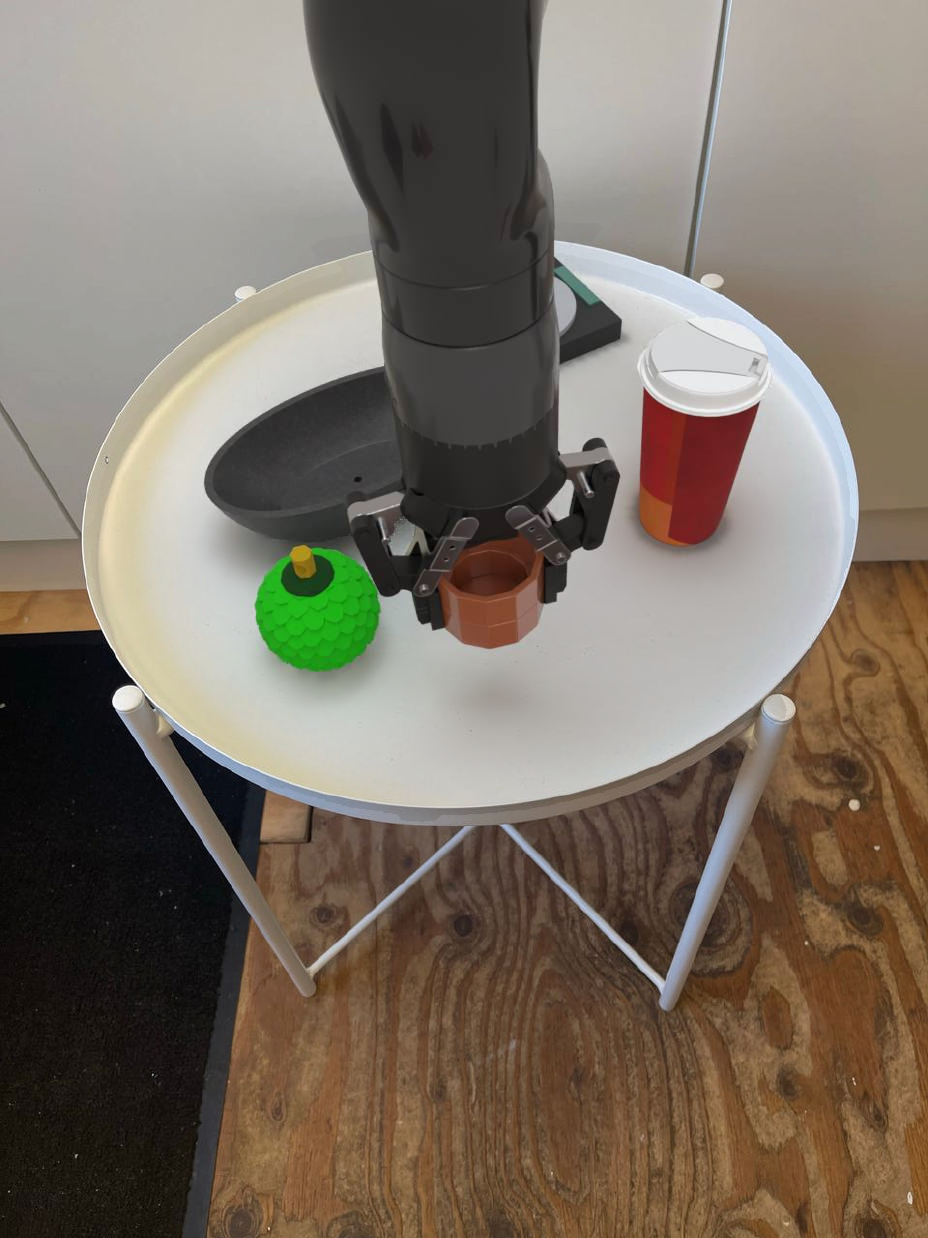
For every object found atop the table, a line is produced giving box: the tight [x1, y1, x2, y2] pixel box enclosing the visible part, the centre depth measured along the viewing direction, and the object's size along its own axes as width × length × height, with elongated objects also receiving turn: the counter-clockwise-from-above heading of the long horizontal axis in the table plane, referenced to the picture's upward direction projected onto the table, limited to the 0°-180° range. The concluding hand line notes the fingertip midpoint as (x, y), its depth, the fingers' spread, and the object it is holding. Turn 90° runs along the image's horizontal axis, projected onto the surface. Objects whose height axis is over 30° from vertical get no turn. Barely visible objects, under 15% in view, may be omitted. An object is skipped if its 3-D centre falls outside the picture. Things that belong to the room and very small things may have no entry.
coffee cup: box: [636, 317, 773, 547], centre depth 66 cm, size 8×8×15 cm
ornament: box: [254, 544, 382, 673], centre depth 63 cm, size 8×8×10 cm
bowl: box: [203, 365, 403, 543], centre depth 73 cm, size 12×22×6 cm, turn 120°
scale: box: [554, 256, 623, 365], centre depth 85 cm, size 13×12×3 cm
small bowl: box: [437, 532, 545, 650], centre depth 55 cm, size 6×6×5 cm
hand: (491, 603), depth 56 cm, fingers closed on small bowl, 6 cm apart
